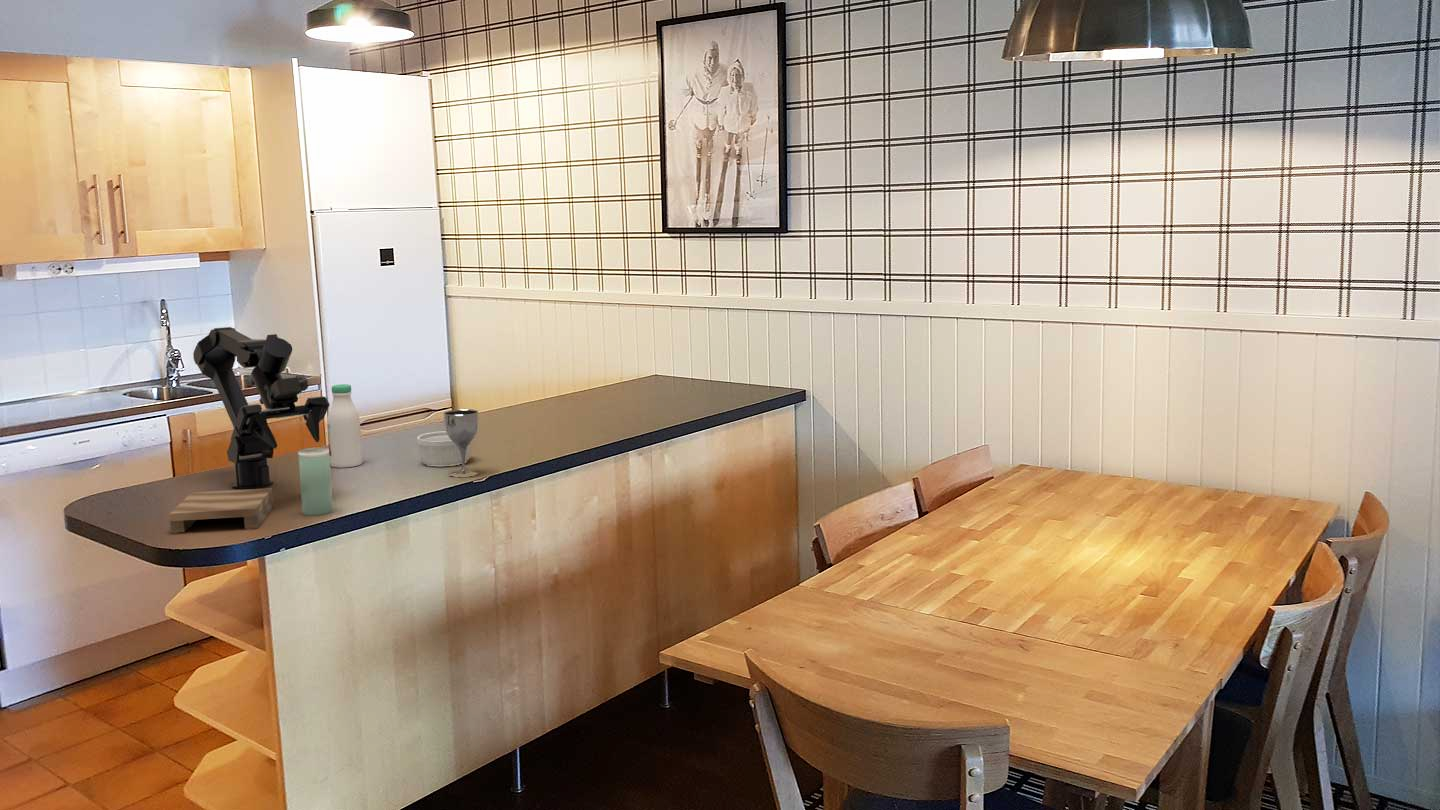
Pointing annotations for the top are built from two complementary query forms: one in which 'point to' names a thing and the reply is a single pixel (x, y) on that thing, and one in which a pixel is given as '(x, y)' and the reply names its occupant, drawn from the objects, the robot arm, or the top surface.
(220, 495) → the wooden pallet
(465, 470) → the wine glass
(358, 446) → the milk bottle
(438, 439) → the ramekin
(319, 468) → the tumbler
